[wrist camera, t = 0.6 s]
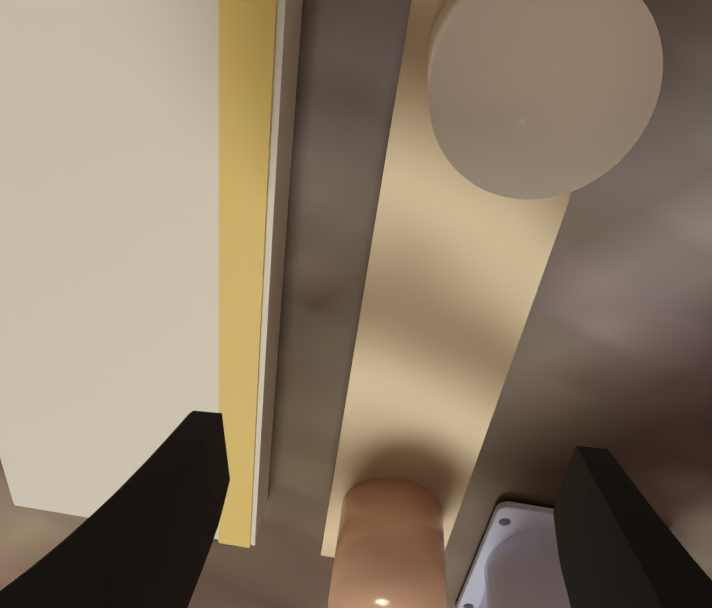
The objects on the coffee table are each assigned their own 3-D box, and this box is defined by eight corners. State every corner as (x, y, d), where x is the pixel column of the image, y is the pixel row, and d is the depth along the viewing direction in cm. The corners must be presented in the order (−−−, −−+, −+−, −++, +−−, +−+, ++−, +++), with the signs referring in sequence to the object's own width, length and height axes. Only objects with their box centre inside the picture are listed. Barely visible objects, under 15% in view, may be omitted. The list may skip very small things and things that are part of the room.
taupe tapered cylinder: (569, 151, 15) (613, 213, 11) (413, 128, 15) (411, 183, 11) (627, -29, 12) (704, -19, 9) (445, -55, 13) (454, -55, 9)
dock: (267, 499, 28) (253, 548, 26) (45, 462, 28) (12, 508, 26) (317, -200, 14) (297, -227, 12) (-130, -269, 14) (-235, -308, 12)
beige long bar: (434, 507, 28) (435, 574, 25) (331, 489, 28) (320, 555, 25) (627, -98, 15) (678, -107, 12) (432, -128, 15) (434, -145, 12)
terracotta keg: (431, 552, 24) (433, 652, 20) (336, 536, 24) (322, 633, 20) (452, 487, 22) (458, 586, 18) (348, 470, 22) (334, 566, 18)
